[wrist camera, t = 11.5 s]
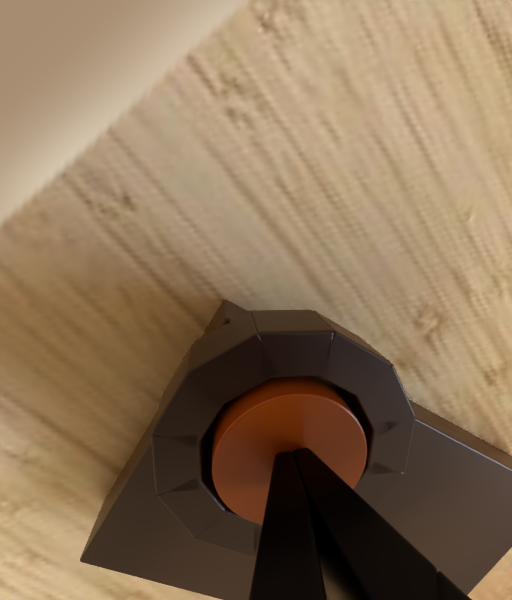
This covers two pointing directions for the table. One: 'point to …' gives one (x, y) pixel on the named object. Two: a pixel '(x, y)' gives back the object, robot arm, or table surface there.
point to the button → (281, 438)
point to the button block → (371, 487)
